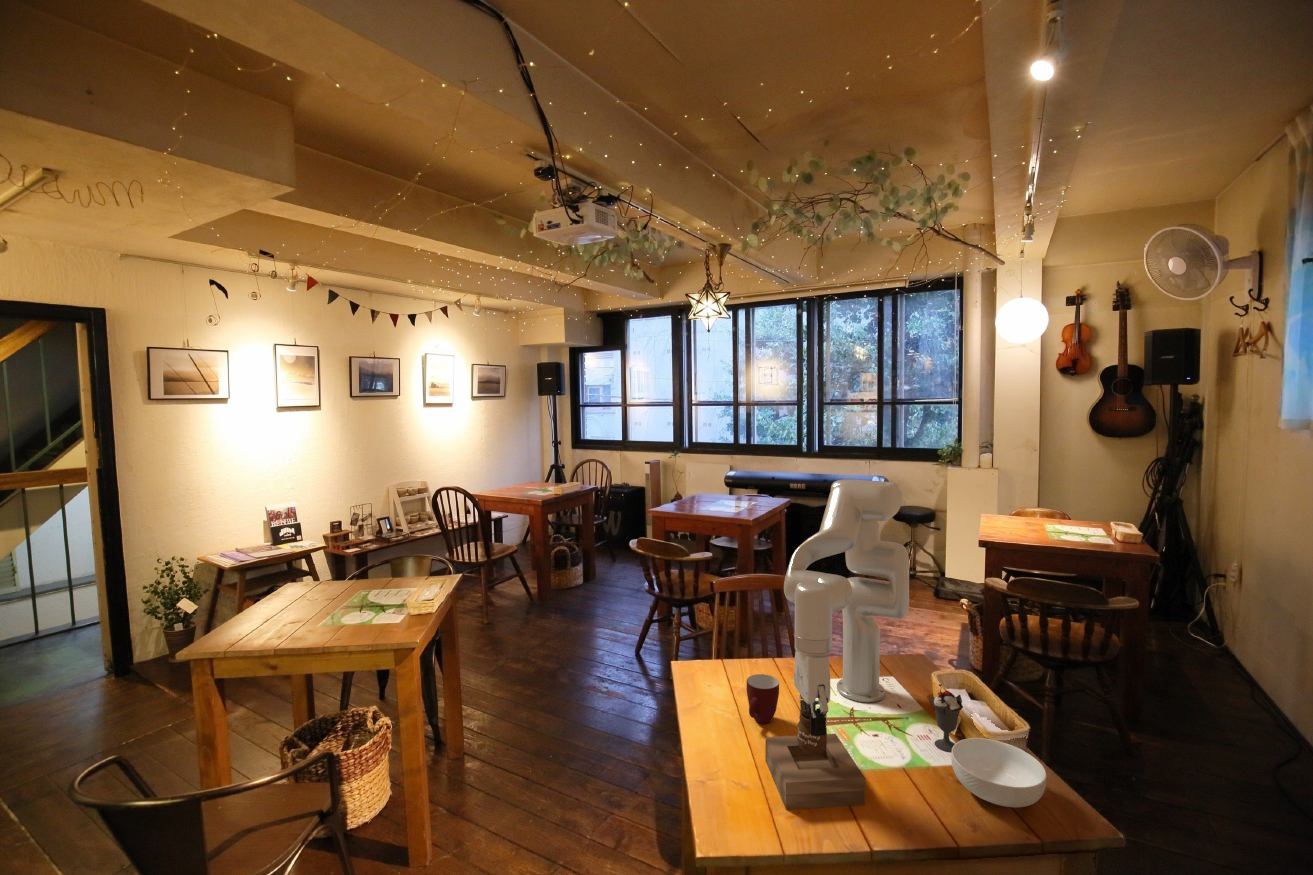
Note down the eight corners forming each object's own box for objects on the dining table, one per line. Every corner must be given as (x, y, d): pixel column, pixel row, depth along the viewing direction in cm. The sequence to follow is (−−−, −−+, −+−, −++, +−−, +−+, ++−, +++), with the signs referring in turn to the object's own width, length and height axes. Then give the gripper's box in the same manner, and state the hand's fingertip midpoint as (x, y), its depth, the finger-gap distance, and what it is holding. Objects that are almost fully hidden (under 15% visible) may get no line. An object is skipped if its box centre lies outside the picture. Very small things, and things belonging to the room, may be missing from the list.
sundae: (926, 746, 139) (927, 683, 139) (936, 734, 144) (937, 673, 143) (956, 757, 135) (958, 692, 134) (965, 745, 140) (967, 682, 139)
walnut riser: (765, 760, 135) (765, 737, 134) (835, 757, 136) (835, 733, 135) (785, 809, 119) (785, 782, 118) (864, 804, 120) (865, 777, 120)
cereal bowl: (995, 829, 113) (996, 793, 112) (932, 776, 129) (933, 744, 128) (1066, 812, 117) (1068, 777, 117) (997, 762, 133) (998, 731, 133)
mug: (770, 736, 144) (770, 696, 144) (738, 728, 148) (738, 688, 147) (782, 715, 154) (783, 677, 153) (752, 708, 157) (752, 671, 157)
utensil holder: (805, 736, 131) (805, 682, 130) (832, 746, 127) (833, 691, 126) (792, 748, 127) (792, 692, 126) (820, 759, 123) (821, 702, 122)
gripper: (783, 627, 134) (783, 706, 135) (808, 660, 117) (808, 751, 118) (816, 626, 134) (816, 704, 135) (846, 659, 117) (845, 749, 118)
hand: (812, 725), depth 127 cm, fingers closed on utensil holder, 5 cm apart
